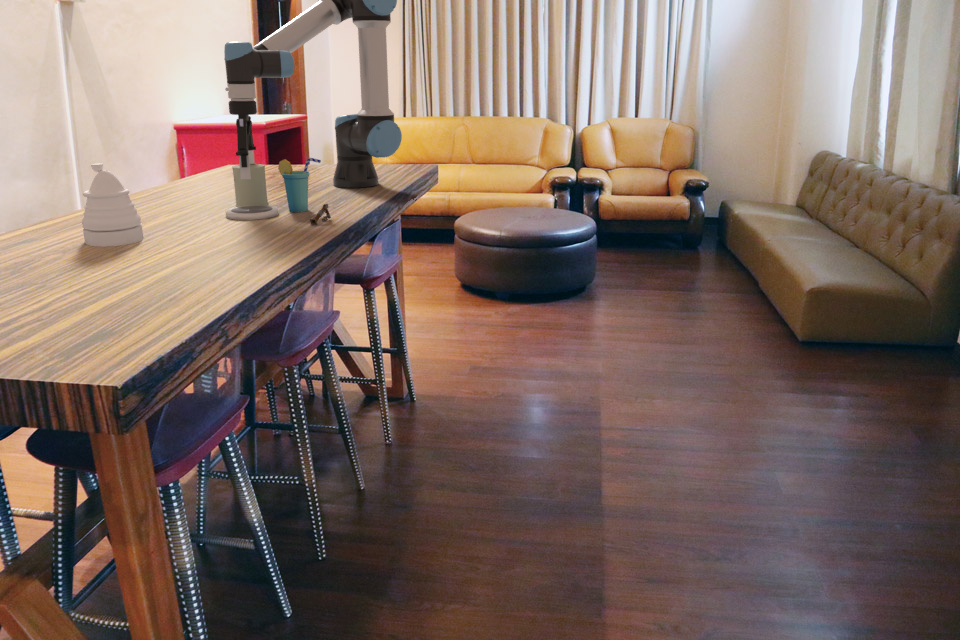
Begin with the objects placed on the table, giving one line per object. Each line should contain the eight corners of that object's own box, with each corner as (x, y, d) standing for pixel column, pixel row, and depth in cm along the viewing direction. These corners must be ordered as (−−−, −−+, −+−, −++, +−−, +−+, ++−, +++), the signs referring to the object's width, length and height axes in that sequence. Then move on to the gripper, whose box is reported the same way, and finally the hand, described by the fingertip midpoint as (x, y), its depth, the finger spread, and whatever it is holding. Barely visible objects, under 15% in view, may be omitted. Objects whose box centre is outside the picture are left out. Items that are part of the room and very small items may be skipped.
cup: (330, 209, 230) (326, 156, 225) (317, 214, 223) (313, 159, 218) (286, 207, 234) (282, 154, 229) (272, 212, 227) (267, 157, 222)
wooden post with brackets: (334, 216, 216) (329, 201, 214) (319, 233, 211) (314, 219, 208) (328, 215, 217) (323, 201, 214) (314, 232, 212) (308, 218, 209)
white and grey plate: (280, 209, 230) (279, 204, 230) (276, 219, 217) (276, 213, 217) (229, 211, 228) (228, 205, 228) (222, 221, 215) (222, 215, 214)
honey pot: (72, 244, 190) (59, 166, 184) (114, 233, 201) (103, 160, 195) (115, 248, 185) (103, 169, 180) (155, 237, 197) (145, 162, 191)
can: (272, 203, 241) (269, 162, 237) (261, 208, 232) (258, 166, 228) (242, 202, 242) (239, 162, 238) (230, 208, 233) (226, 166, 229)
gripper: (233, 98, 239) (239, 170, 245) (222, 101, 215) (229, 181, 222) (259, 98, 240) (265, 170, 246) (251, 101, 216) (257, 181, 223)
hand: (248, 176), depth 234 cm, fingers open, 13 cm apart
